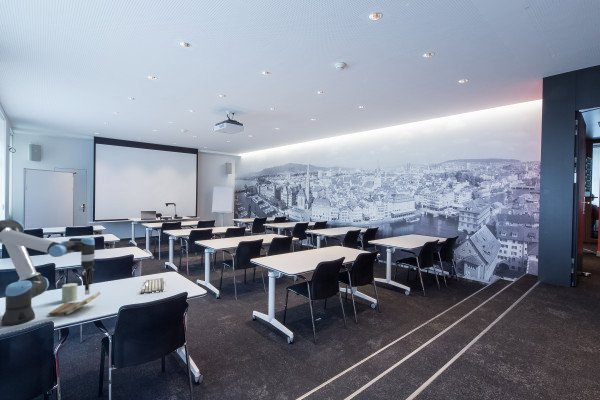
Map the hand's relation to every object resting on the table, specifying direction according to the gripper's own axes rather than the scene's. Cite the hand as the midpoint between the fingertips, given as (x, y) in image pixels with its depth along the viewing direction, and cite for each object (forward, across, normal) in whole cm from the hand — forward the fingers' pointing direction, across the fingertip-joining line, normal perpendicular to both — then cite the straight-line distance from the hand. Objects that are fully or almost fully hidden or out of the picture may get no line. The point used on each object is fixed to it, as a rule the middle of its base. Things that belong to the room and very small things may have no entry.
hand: (87, 294), depth 201 cm
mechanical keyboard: (+12, +48, -29) cm, 58 cm away
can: (+11, +21, +22) cm, 32 cm away
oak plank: (+7, 0, +2) cm, 7 cm away
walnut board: (+11, 0, +14) cm, 17 cm away
